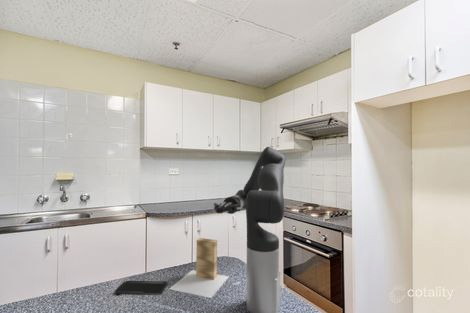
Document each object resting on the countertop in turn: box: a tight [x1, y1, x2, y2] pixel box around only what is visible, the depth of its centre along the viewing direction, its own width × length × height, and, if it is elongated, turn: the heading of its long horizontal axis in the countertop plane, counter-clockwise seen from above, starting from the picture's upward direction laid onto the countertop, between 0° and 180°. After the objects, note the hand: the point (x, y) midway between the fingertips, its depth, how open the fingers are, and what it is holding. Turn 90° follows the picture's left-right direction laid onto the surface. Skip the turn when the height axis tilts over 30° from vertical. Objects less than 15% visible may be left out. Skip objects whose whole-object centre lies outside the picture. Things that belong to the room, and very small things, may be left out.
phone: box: [114, 280, 169, 296], centre depth 79 cm, size 8×1×15 cm
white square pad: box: [169, 269, 230, 299], centre depth 83 cm, size 15×15×1 cm
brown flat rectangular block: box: [195, 237, 218, 280], centre depth 88 cm, size 7×2×13 cm, turn 70°
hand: (218, 210), depth 98 cm, fingers closed
